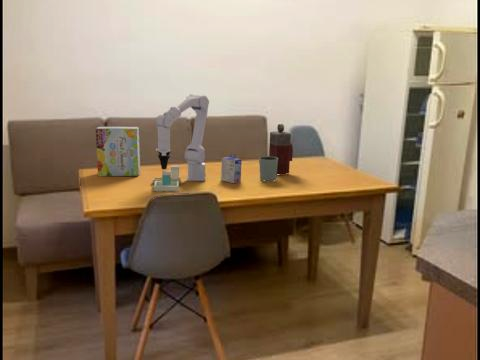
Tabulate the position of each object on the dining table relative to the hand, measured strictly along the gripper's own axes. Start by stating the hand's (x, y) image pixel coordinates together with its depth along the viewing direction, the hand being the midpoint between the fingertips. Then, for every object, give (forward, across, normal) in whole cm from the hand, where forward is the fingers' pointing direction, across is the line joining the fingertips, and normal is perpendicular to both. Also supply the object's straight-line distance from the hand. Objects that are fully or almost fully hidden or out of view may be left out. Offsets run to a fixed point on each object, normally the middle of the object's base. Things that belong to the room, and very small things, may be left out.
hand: (164, 167), depth 245 cm
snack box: (+10, -26, -25) cm, 37 cm away
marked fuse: (+9, +4, +1) cm, 10 cm away
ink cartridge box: (+10, -11, +34) cm, 37 cm away
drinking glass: (+10, -14, +54) cm, 57 cm away
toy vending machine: (+10, -30, +64) cm, 72 cm away
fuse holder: (+10, -6, +1) cm, 12 cm away
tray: (+10, +4, +1) cm, 10 cm away
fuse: (+9, -6, +5) cm, 12 cm away
